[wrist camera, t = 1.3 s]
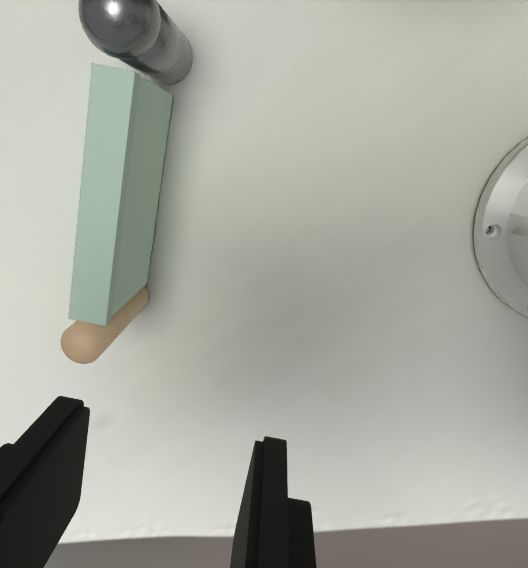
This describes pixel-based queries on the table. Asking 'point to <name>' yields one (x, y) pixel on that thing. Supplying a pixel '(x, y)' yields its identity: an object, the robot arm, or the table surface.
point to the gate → (116, 208)
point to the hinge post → (138, 37)
